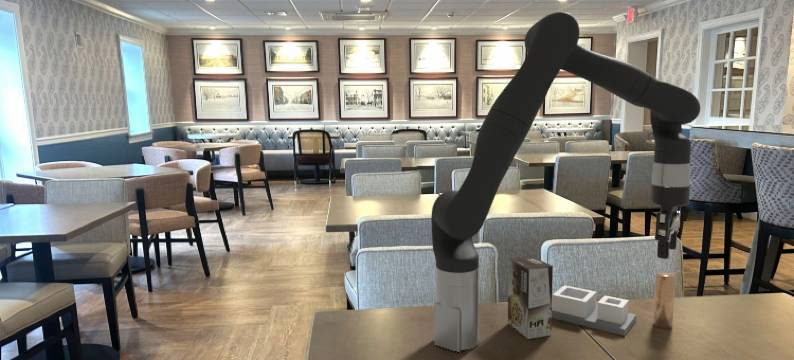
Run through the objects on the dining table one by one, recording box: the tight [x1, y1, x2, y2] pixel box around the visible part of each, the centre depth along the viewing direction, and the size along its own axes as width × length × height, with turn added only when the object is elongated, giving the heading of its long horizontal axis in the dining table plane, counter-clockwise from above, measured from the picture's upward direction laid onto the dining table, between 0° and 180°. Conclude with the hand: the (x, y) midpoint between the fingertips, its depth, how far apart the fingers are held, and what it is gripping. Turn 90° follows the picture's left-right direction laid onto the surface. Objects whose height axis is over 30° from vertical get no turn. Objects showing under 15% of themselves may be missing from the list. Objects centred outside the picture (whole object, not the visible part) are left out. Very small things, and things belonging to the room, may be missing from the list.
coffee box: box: [507, 255, 554, 340], centre depth 115 cm, size 9×6×16 cm
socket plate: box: [552, 284, 637, 337], centre depth 120 cm, size 10×17×6 cm, turn 52°
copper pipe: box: [652, 272, 676, 330], centre depth 116 cm, size 4×4×12 cm
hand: (666, 253), depth 114 cm, fingers open, 8 cm apart
